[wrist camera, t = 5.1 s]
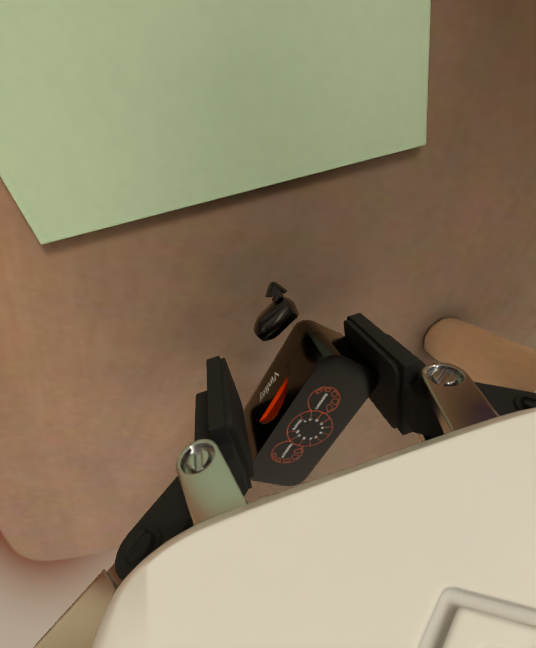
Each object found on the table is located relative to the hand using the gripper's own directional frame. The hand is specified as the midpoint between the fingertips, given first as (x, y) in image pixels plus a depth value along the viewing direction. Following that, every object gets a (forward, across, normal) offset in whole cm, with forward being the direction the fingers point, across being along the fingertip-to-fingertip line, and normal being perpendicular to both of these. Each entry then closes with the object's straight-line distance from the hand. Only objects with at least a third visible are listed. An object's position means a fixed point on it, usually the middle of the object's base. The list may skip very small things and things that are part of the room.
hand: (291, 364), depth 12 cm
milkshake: (+6, -12, +7) cm, 15 cm away
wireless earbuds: (+1, 0, 0) cm, 1 cm away
